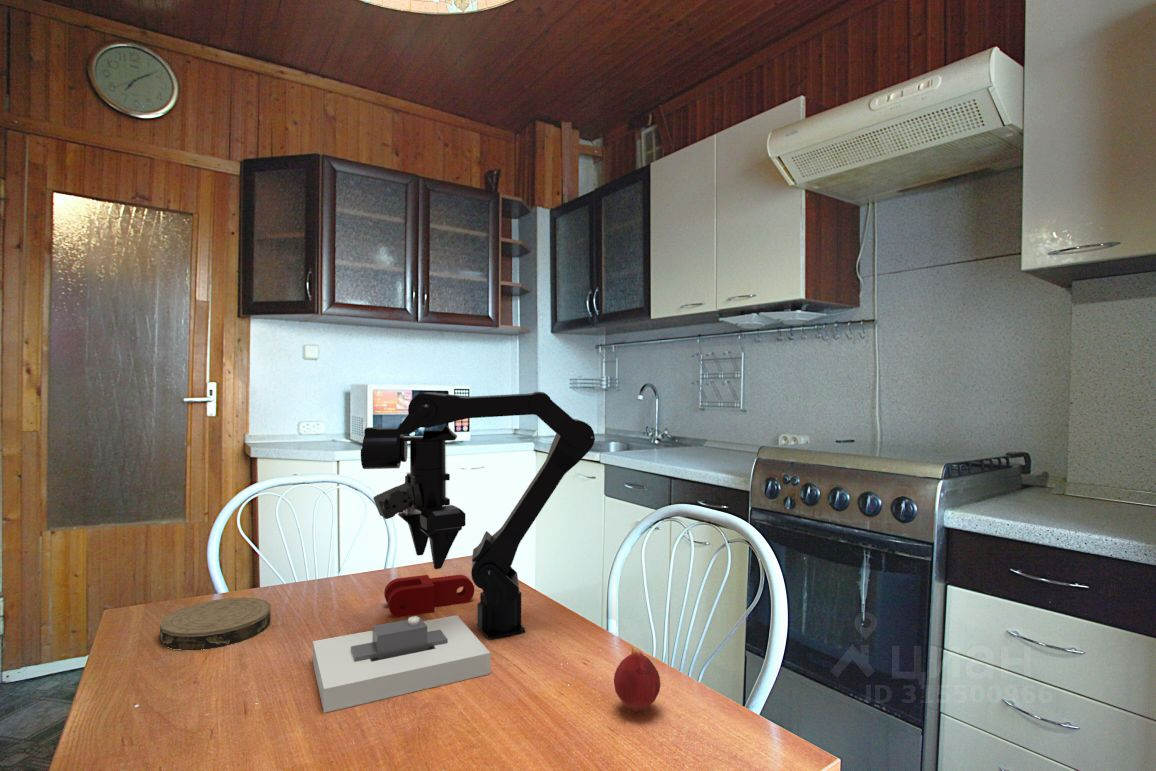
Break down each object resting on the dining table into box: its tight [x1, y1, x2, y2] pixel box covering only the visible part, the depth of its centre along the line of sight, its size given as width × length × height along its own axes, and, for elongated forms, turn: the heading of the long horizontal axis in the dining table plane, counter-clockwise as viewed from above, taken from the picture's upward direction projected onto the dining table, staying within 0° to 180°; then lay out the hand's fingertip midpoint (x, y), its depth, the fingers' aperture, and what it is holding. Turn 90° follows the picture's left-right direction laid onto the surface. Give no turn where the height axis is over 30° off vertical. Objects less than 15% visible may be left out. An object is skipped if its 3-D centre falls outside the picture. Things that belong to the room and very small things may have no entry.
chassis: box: [312, 615, 491, 714], centre depth 88 cm, size 22×16×3 cm
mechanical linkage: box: [383, 574, 475, 618], centre depth 113 cm, size 16×7×5 cm, turn 114°
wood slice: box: [159, 596, 272, 651], centre depth 101 cm, size 16×16×3 cm
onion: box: [613, 646, 661, 713], centre depth 76 cm, size 6×6×8 cm
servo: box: [351, 615, 448, 662], centre depth 88 cm, size 13×4×7 cm, turn 118°
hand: (428, 561), depth 100 cm, fingers open, 9 cm apart
